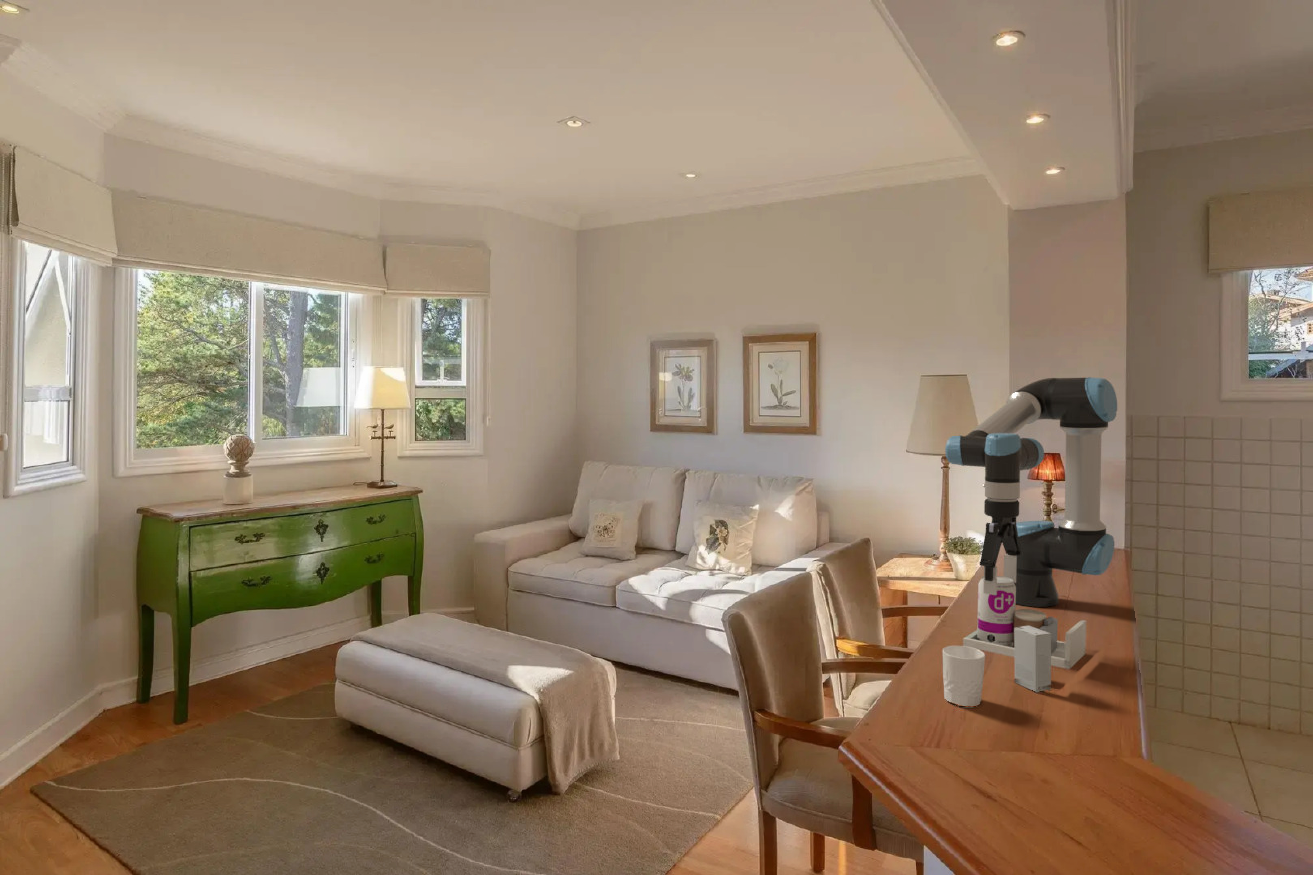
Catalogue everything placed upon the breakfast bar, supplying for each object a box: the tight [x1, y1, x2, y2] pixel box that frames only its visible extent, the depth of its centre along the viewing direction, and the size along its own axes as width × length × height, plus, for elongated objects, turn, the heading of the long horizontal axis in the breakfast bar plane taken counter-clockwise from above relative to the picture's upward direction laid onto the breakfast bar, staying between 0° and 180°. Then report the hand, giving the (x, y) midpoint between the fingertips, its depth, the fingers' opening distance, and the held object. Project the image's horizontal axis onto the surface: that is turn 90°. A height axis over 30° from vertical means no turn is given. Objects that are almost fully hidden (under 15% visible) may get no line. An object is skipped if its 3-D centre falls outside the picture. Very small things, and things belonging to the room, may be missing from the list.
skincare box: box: [1014, 626, 1052, 693], centre depth 164 cm, size 6×4×12 cm
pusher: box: [1040, 615, 1059, 653], centre depth 179 cm, size 10×1×8 cm, turn 138°
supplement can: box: [976, 575, 1017, 646], centre depth 186 cm, size 8×8×15 cm
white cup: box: [941, 645, 986, 706], centre depth 156 cm, size 8×8×10 cm
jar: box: [1013, 608, 1048, 648], centre depth 182 cm, size 7×7×9 cm
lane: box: [962, 619, 1087, 670], centre depth 183 cm, size 13×23×9 cm, turn 48°
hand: (1000, 587), depth 186 cm, fingers open, 13 cm apart
